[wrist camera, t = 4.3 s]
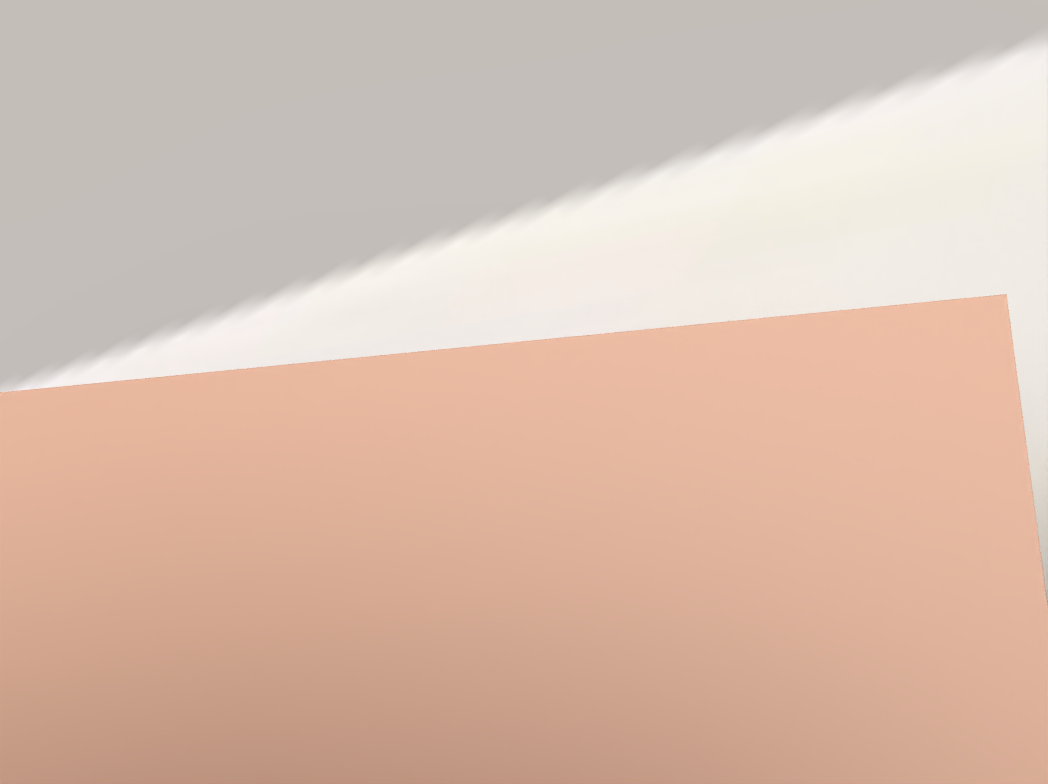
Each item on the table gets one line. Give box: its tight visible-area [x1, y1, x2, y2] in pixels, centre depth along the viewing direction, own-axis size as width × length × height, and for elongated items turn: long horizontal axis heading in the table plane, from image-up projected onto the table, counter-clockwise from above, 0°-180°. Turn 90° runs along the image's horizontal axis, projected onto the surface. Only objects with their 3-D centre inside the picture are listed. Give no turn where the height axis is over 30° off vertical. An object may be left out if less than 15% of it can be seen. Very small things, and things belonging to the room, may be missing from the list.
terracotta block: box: [0, 294, 1048, 784], centre depth 9 cm, size 5×5×12 cm
